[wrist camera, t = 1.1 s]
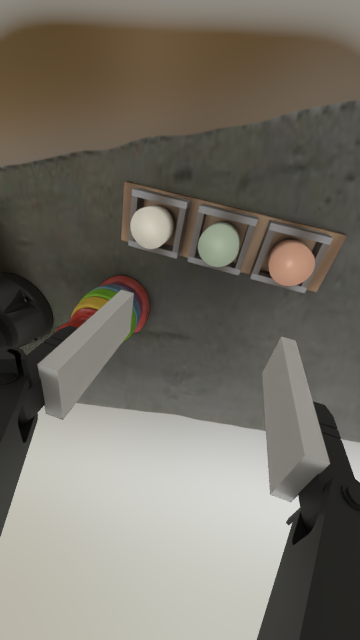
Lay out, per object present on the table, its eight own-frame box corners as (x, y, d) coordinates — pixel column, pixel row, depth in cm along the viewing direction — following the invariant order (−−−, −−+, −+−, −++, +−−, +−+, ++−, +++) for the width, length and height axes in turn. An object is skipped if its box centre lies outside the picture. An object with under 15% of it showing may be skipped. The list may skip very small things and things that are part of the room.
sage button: (198, 254, 34) (194, 261, 32) (206, 217, 31) (203, 220, 29) (233, 264, 34) (231, 271, 31) (245, 226, 31) (244, 231, 28)
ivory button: (137, 238, 35) (128, 243, 33) (141, 200, 32) (132, 203, 30) (170, 247, 35) (164, 253, 32) (177, 209, 32) (171, 212, 29)
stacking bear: (91, 303, 47) (17, 362, 32) (109, 260, 42) (31, 308, 27) (138, 334, 48) (88, 405, 33) (162, 296, 43) (116, 361, 28)
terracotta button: (261, 271, 33) (262, 279, 31) (276, 234, 31) (279, 239, 28) (298, 281, 33) (303, 290, 30) (317, 244, 30) (323, 251, 28)
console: (123, 238, 39) (113, 243, 36) (127, 181, 35) (115, 182, 32) (314, 289, 36) (320, 300, 33) (344, 234, 32) (354, 240, 29)
